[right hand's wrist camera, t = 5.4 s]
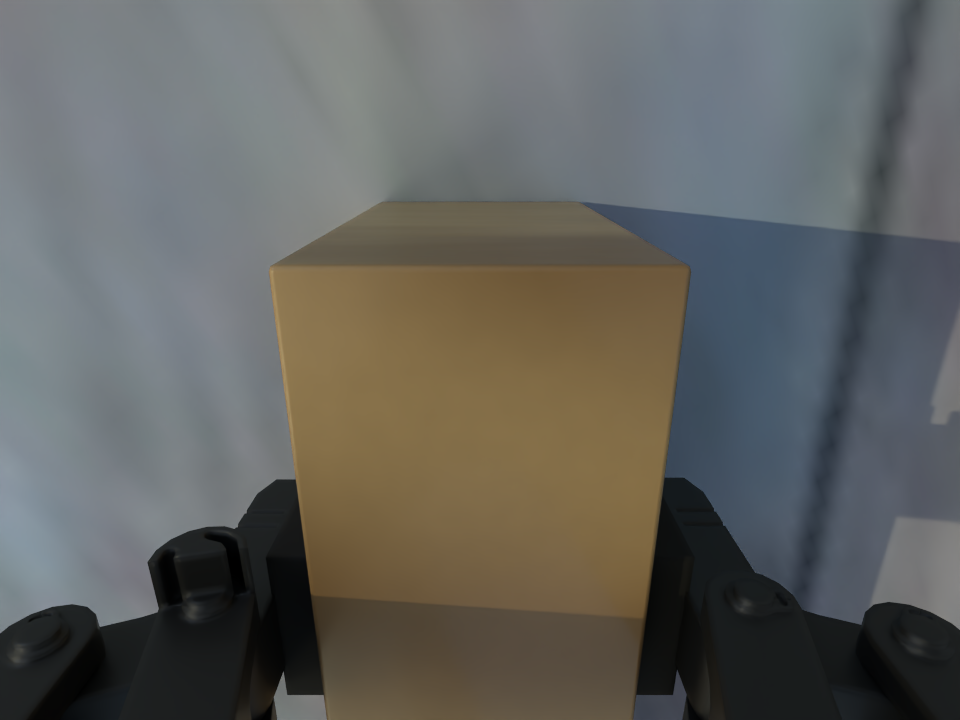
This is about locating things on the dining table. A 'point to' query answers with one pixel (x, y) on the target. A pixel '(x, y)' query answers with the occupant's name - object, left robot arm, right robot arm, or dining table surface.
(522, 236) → the post
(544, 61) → the dining table surface
